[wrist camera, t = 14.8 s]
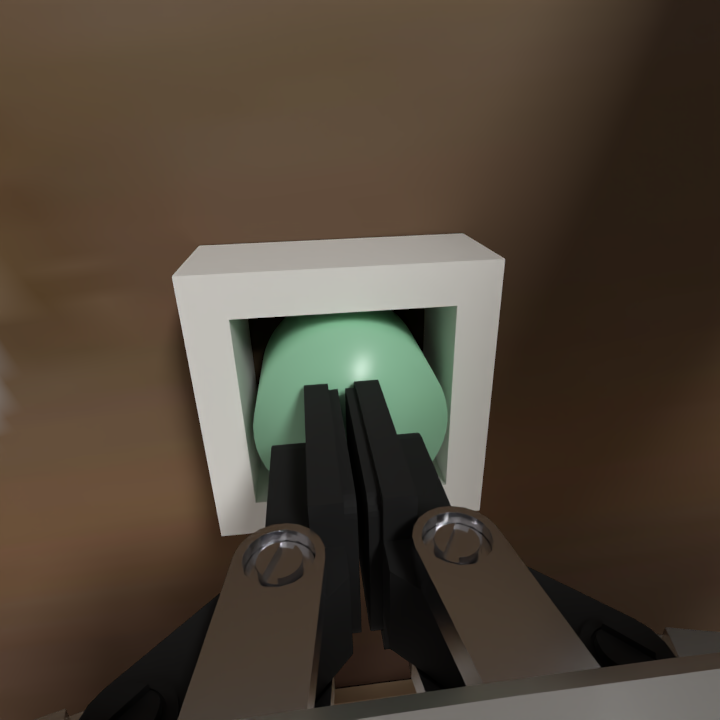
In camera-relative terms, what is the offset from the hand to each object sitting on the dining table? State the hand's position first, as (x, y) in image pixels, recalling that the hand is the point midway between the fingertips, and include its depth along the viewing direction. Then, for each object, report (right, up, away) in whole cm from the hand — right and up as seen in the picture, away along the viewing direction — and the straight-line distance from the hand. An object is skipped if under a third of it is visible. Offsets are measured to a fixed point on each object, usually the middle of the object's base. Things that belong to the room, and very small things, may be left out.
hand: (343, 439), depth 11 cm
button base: (0, +2, +3) cm, 4 cm away
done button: (0, +2, +3) cm, 3 cm away
